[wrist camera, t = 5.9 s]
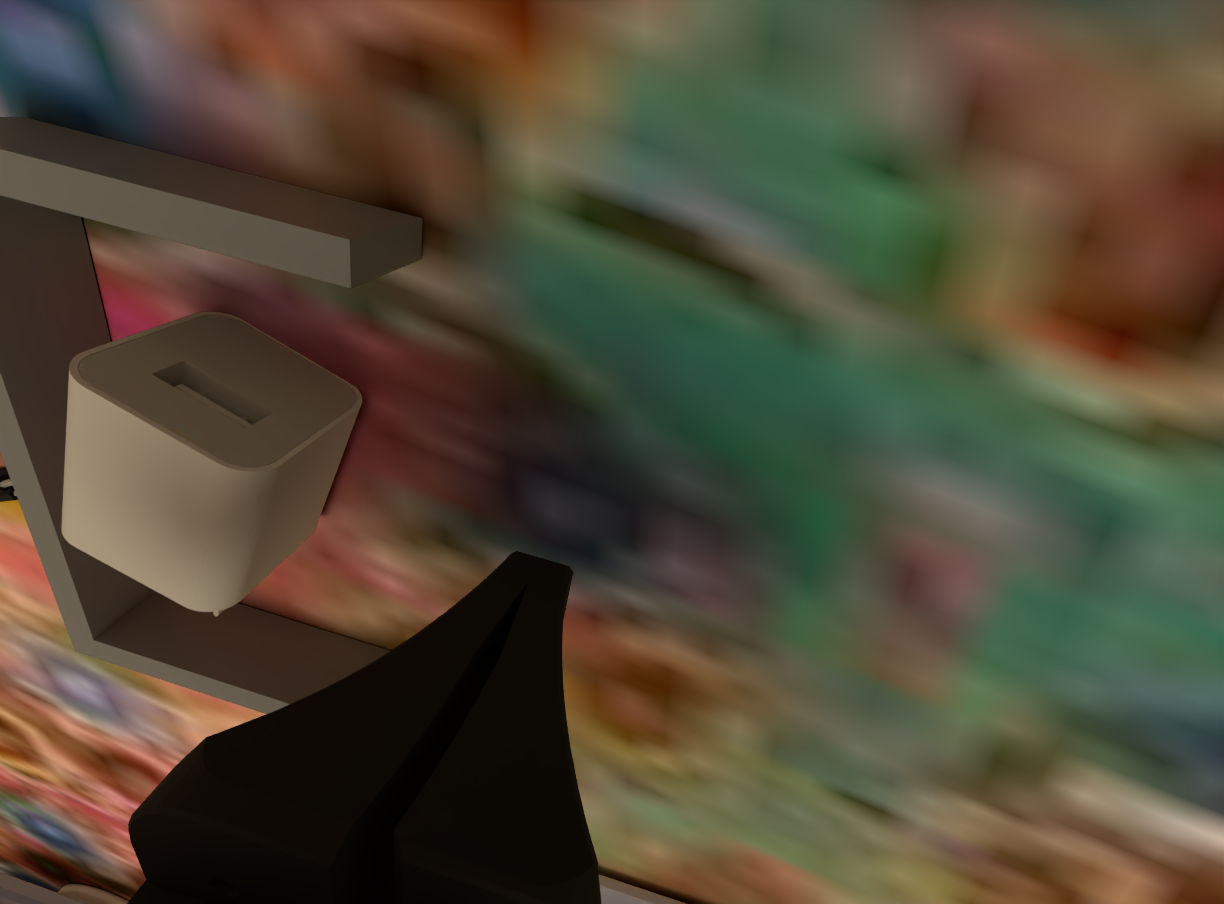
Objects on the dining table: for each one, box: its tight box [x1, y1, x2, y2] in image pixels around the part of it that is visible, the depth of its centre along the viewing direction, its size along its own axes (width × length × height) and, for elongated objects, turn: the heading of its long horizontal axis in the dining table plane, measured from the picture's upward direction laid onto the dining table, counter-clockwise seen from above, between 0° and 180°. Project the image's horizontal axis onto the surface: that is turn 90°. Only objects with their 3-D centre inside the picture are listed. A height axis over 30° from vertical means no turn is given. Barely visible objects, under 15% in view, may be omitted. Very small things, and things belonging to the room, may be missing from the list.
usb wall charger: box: [61, 312, 362, 616], centre depth 14 cm, size 4×7×4 cm, turn 150°
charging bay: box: [0, 117, 423, 714], centre depth 15 cm, size 14×9×2 cm, turn 168°
